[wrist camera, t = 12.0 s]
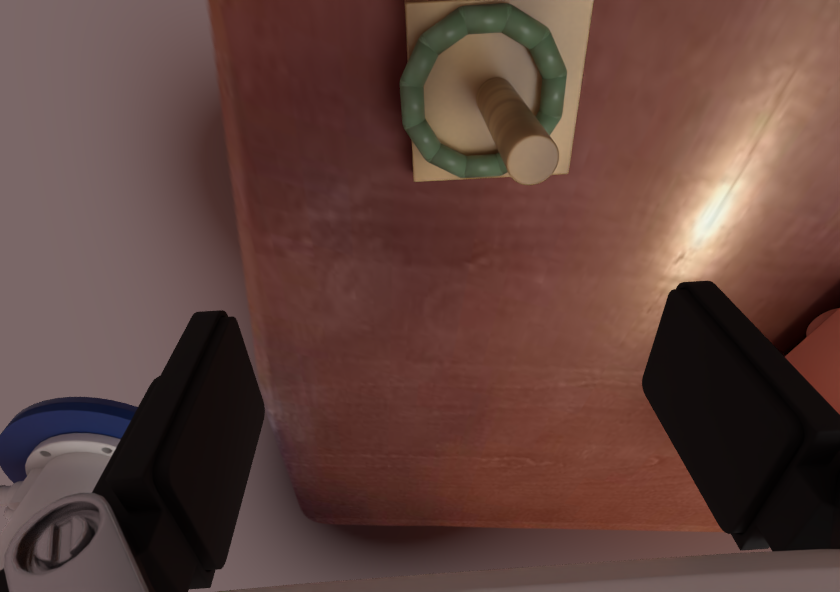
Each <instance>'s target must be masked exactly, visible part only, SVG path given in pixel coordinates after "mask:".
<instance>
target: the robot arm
mask: <svg viewBox="0 0 840 592" xmlns="http://www.w3.org/2000/svg"><path fill="white" fill-rule="evenodd" d="M642 386H643V391H644V393H645V396H646V397H647V399H648V401H649V403H650V404H651V406H652V408H653V410H654V411H655V413H656V415H657V417H658V419H659V420H660V422H661V424H662V426H663V427H664V429H665V431H666V433H667V434H668V436H669V438H670V440H671V442H672V443H673V445H674V447H675V449H676V450H677V452H678V454H679V456H680V457H681V459H682V461H683V463H684V464H685V466H686V468H687V470H688V472H689V473H690V475H691V477H692V479H693V480H694V482H695V484H696V486H697V487H698V489H699V491H700V493H701V495H702V496H703V498H704V500H705V502H706V503H707V505H708V507H709V509H710V510H711V512H712V514H713V516H714V518H715V519H716V521H717V523H718V525H719V526H720V527H721V529H722V530H723V531H724V532H726V533H728V534H731V535H732V536H733V538H734V540H735V542H736V543H737V545H738V547H739V549H740V550H753V549H768V548H769V547H770V548H771V550H772V552H751V553H731V554H716V555H702V556H686V557H670V558H656V559H640V560H624V561H610V562H595V563H580V564H565V565H551V566H537V567H522V568H508V569H494V570H480V571H467V572H452V573H438V574H425V575H412V576H400V577H385V578H372V579H359V580H346V581H333V582H319V583H306V584H294V585H283V586H272V587H262V588H252V589H241V590H229V591H219V592H840V414H839V413H838V412H837V411H836V410H835V409H834V408H833V407H832V406H831V405H830V404H829V403H828V402H827V401H826V400H825V399H824V398H823V397H822V396H821V395H820V394H819V392H818V391H817V390H816V389H815V388H814V387H813V386H812V385H811V384H810V383H809V382H808V381H807V380H806V379H805V378H804V377H803V376H802V375H801V374H800V373H799V372H798V371H797V369H796V368H795V367H794V366H793V365H792V364H791V363H790V362H789V361H788V360H787V359H786V358H785V357H784V356H783V355H782V354H781V353H780V352H779V351H778V350H777V349H776V347H775V346H774V345H773V344H772V343H771V342H770V341H769V340H768V339H767V338H766V337H765V336H764V335H763V334H762V333H761V332H760V331H759V330H758V329H757V328H756V327H755V326H754V324H753V323H752V322H751V321H750V320H749V319H748V318H747V317H746V316H745V315H744V314H743V313H742V312H741V311H740V310H739V309H738V308H737V307H736V306H735V305H734V304H733V303H732V301H731V300H730V299H729V298H728V297H727V296H726V295H725V294H724V293H723V292H722V291H721V290H720V289H719V288H718V287H717V286H716V285H715V284H714V283H713V282H711V281H696V282H683V283H680V284H679V285H678V286H677V288H676V289H674V290H671V292H670V293H669V295H668V298H667V301H666V304H665V308H664V311H663V314H662V317H661V320H660V324H659V327H658V330H657V333H656V336H655V340H654V343H653V346H652V349H651V352H650V356H649V359H648V362H647V365H646V369H645V372H644V375H643V379H642ZM264 413H265V408H264V402H263V399H262V396H261V393H260V390H259V387H258V383H257V380H256V378H255V374H254V372H253V368H252V365H251V362H250V359H249V356H248V353H247V350H246V347H245V344H244V341H243V338H242V335H241V331H240V328H239V325H238V322H237V320H236V318H234V317H228V315H227V314H226V312H225V311H206V312H196V313H194V315H193V316H192V318H191V319H190V321H189V323H188V325H187V327H186V329H185V331H184V333H183V334H182V336H181V338H180V340H179V342H178V344H177V346H176V348H175V349H174V351H173V353H172V355H171V357H170V359H169V361H168V363H167V365H166V366H165V368H164V370H163V372H162V374H161V376H159V377H157V378H156V379H154V381H153V382H152V383H151V385H150V387H149V388H148V390H147V392H146V394H145V396H144V398H143V399H142V401H141V403H140V405H139V407H138V409H137V410H136V412H135V414H134V416H133V418H132V420H131V421H130V423H129V425H128V427H127V429H126V431H125V432H124V434H123V436H122V438H121V439H119V438H115V437H111V436H106V435H101V434H93V433H70V434H62V435H58V436H54V437H51V438H48V439H46V440H44V441H42V442H41V443H40V444H38V445H37V446H36V447H35V448H34V450H33V451H32V453H31V454H30V456H29V457H28V458H27V461H26V464H25V469H26V474H27V477H26V478H25V480H24V481H18V482H16V483H14V484H13V485H12V486H5V485H2V486H0V507H2V506H7V507H6V509H5V511H4V516H5V518H6V519H9V521H8V523H7V524H6V525H5V527H4V529H3V530H2V532H1V533H0V592H188V590H189V589H199V588H210V587H211V584H212V580H213V576H214V573H215V569H221V568H222V567H223V566H224V564H225V562H226V559H227V555H228V552H229V547H230V544H231V540H232V537H233V533H234V529H235V525H236V522H237V518H238V514H239V510H240V507H241V503H242V499H243V495H244V492H245V488H246V484H247V480H248V477H249V473H250V469H251V465H252V462H253V458H254V454H255V450H256V446H257V442H258V439H259V435H260V432H261V428H262V424H263V420H264Z"/></svg>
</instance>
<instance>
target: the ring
mask: <svg viewBox="0 0 840 592" xmlns="http://www.w3.org/2000/svg"><path fill="white" fill-rule="evenodd" d="M485 33H503V34H505V35H506V36H508V37H510V38H511V39H513V40H515V41H516V42H518V43H520V44H521V45H523V46H525V47H526V48H528V49H529V51H530V53H531V55H532V57H533V59H534V62H535V64H536V66H537V68H538V70H539V72H540V74H541V76H542V85H541V96H540V107H539V111H538V113H537V115H536V116H535V117H536V118H537V119H538V121H539V122H540V123H541V125H542V126H543V127H544V129H545V130H546V132H547V133H548V134H549V136H550V135H551V133H552V132H553V130H554V128H555V127H556V125H557V124H558V122H559V121H560V119H561V117H562V113H563V105H564V96H565V88H566V79H567V69H566V66H565V64H564V61H563V59H562V57H561V55H560V52H559V50H558V48H557V45H556V43H555V41H554V38H553V36H552V34H551V32H550V30H549V28H548V27H547V26H545V25H544V24H542V23H541V22H539V21H537V20H536V19H534V18H533V17H531V16H529V15H528V14H526V13H525V12H523V11H521V10H520V9H518V8H517V7H515V6H513V5H512V4H509V3H497V4H482V5H466V6H460V7H458V8H457V9H455V10H454V11H453V12H451V13H450V14H449V15H447V16H446V17H444V18H443V19H442V20H440V21H439V22H438V23H436V24H435V25H434V26H432V27H431V28H429V29H428V30H427V31H425V32H424V33H423V34H421V35H420V37H419V39H418V41H417V43H416V45H415V47H414V49H413V52H412V54H411V56H410V58H409V60H408V63H407V65H406V67H405V69H404V71H403V74H402V76H401V78H400V97H401V111H402V124H403V127H404V129H405V131H406V132H407V134H408V135H409V137H410V138H411V140H412V141H413V143H414V144H415V146H416V147H417V149H418V150H419V152H420V153H421V155H422V156H423V158H424V159H425V160H426V161H427V162H429V163H431V164H433V165H435V166H437V167H439V168H441V169H443V170H445V171H447V172H449V173H451V174H453V175H456V176H458V177H460V178H476V177H491V176H501V175H504V174H505V173H507V172H508V171H507V169H506V167H505V164H504V162H503V160H502V158H501V156H500V154H499V152H498V153H496V154H487V155H471V156H466V155H464V154H462V153H460V152H458V151H456V150H454V149H452V148H450V147H448V146H446V145H444V144H442V143H440V141H439V140H438V138H437V136H436V135H435V133H434V132H433V130H432V128H431V127H430V125H429V124H428V122H427V121H426V119H425V107H424V84H425V82H426V80H427V78H428V76H429V74H430V72H431V70H432V68H433V66H434V64H435V62H436V60H437V57H438V55H439V54H441V53H442V52H444V51H445V50H446V49H448V48H449V47H451V46H452V45H454V44H455V43H456V42H458V41H459V40H461V39H462V38H463V37H465V36H466V35H469V34H485Z"/></svg>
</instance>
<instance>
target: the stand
mask: <svg viewBox="0 0 840 592" xmlns="http://www.w3.org/2000/svg"><path fill="white" fill-rule="evenodd" d="M593 2H594V0H405V21H406V41H407V61H408V60H409V58H410V56H411V54H412V52H413V49H414V47H415V45H416V43H417V41H418V39H419V37H420V35H421V34H423V33H424V32H425V31H427V30H428V29H429V28H431V27H432V26H434V25H435V24H436V23H438V22H439V21H440V20H442V19H443V18H444V17H446V16H447V15H449V14H450V13H451V12H453V11H454V10H455V9H457V8H458V7H460V6H466V5H482V4H497V3H509V4H512V5H513V6H515V7H517V8H518V9H520V10H521V11H523V12H525V13H526V14H528V15H529V16H531V17H533V18H534V19H536V20H537V21H539V22H541V23H542V24H544V25H545V26H547V27H548V28H549V30H550V32H551V34H552V36H553V38H554V41H555V43H556V45H557V48H558V50H559V52H560V55H561V57H562V59H563V61H564V64H565V66H566V69H567V79H566V88H565V96H564V105H563V113H562V117H561V119H560V121H559V122H558V124H557V125H556V127H555V128H554V130H553V132H552V133H551V135H550V136H549V134H548V133H547V132H546V130H545V129H544V127H543V126H542V125H541V123H540V122H539V121H538V119H537V118H536V117H535V116H536V115H537V113H538V111H539V107H540V96H541V85H542V76H541V74H540V72H539V70H538V68H537V66H536V64H535V62H534V59H533V57H532V55H531V53H530V51H529V49H528V48H526V47H525V46H523V45H521V44H520V43H518V42H516V41H515V40H513V39H511V38H510V37H508V36H506V35H505V34H503V33H485V34H469V35H466V36H465V37H463V38H462V39H461V40H459V41H458V42H456V43H455V44H454V45H452V46H451V47H449V48H448V49H446V50H445V51H444V52H442V53H441V54H439V55H438V57H437V60H436V62H435V64H434V66H433V68H432V70H431V72H430V74H429V76H428V78H427V80H426V82H425V84H424V107H425V119H426V121H427V122H428V124H429V125H430V127H431V128H432V130H433V132H434V133H435V135H436V136H437V138H438V140H439V141H440V143H442V144H444V145H446V146H448V147H450V148H452V149H454V150H456V151H458V152H460V153H462V154H464V155H466V156H471V155H487V154H496V153H498V152H499V154H500V156H501V158H502V160H503V162H504V164H505V167H506V169H507V171H508V172H507V173H505V174H504V175H501V176H491V177H476V178H460V177H458V176H456V175H453V174H451V173H449V172H447V171H445V170H443V169H441V168H439V167H437V166H435V165H433V164H431V163H429V162H427V161H426V160H425V159H424V158H423V156H422V155H421V153H420V152H419V150H418V149H417V147H416V146H415V144H414V143H413V141H412V140H411V141H412V161H413V179H414V182H421V181H440V180H459V179H479V178H498V177H511V178H512V179H513V180H515V181H516V182H518V183H520V184H523V185H535V184H539V183H541V182H543V181H545V180H546V179H548V178H549V177H550V176H551V175H556V174H568V173H569V166H570V159H571V152H572V145H573V139H574V132H575V125H576V118H577V111H578V105H579V98H580V91H581V84H582V77H583V70H584V64H585V57H586V50H587V43H588V36H589V29H590V23H591V16H592V9H593Z"/></svg>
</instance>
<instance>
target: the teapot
mask: <svg viewBox="0 0 840 592" xmlns="http://www.w3.org/2000/svg"><path fill="white" fill-rule="evenodd" d="M806 335H807V337H806V338H805V339H804V340H803V341H802V342H801V343H800V344H798V345H797V346H796V347H795V348H794V349H793V350H792V351H791V352H790V353H788V354H787V355H786V356H785V358H786V359H787V360H788V361H789V362H790V363H791V364H792V365H793V366H794V367H795V368H796V369H797V371H798V372H799V373H800V374H801V375H802V376H803V377H804V378H805V379H806V380H807V381H808V382H809V383H810V384H811V385H812V386H813V387H814V388H815V389H816V390H817V391H818V392H819V394H820V395H821V396H822V397H823V398H824V399H825V400H826V401H827V402H828V403H829V404H830V405H831V406H832V407H833V408H834V409H835V410H836V411H837V412H838V413H839V414H840V308H836V309H832V310H829V311H827V312H825V313H823V314H821V315H819V316H818V317H817V318H815V319H814V320H813V321H812V322H811V323H810V325H809V326H808V328H807V331H806Z"/></svg>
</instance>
